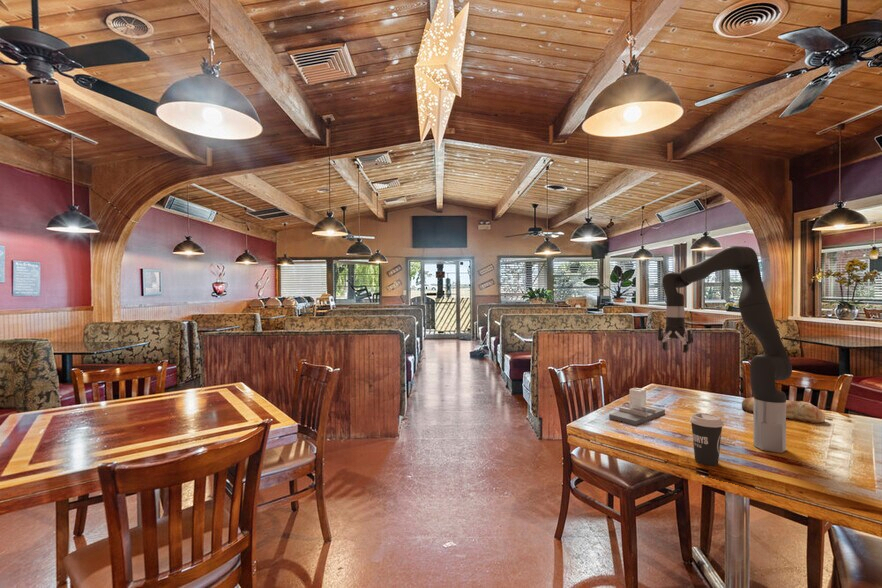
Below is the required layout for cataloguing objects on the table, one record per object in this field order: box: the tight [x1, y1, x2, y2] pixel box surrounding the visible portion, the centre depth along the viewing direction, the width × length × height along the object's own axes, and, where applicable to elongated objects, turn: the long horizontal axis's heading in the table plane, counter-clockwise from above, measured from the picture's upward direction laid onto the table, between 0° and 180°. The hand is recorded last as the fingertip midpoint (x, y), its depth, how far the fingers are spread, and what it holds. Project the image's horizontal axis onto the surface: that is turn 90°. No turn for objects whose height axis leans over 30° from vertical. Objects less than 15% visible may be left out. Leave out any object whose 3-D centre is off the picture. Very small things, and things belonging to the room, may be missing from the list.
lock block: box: [629, 387, 647, 412], centre depth 189 cm, size 5×5×10 cm
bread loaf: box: [741, 396, 833, 424], centre depth 189 cm, size 35×18×9 cm, turn 53°
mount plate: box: [608, 403, 666, 426], centre depth 189 cm, size 12×26×4 cm, turn 128°
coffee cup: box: [689, 412, 725, 467], centre depth 139 cm, size 10×10×15 cm
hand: (675, 351), depth 193 cm, fingers open, 8 cm apart
